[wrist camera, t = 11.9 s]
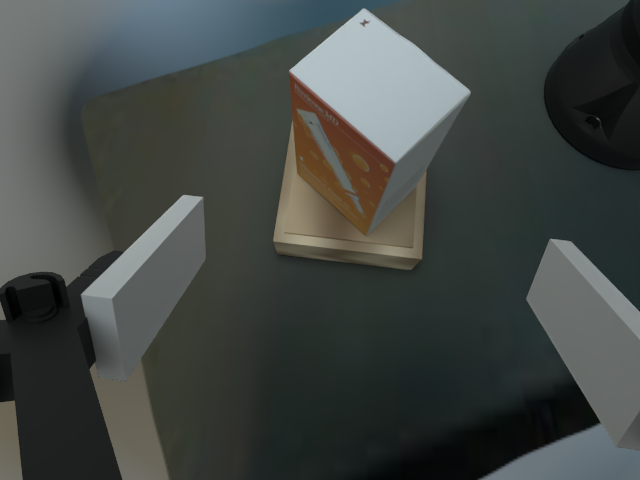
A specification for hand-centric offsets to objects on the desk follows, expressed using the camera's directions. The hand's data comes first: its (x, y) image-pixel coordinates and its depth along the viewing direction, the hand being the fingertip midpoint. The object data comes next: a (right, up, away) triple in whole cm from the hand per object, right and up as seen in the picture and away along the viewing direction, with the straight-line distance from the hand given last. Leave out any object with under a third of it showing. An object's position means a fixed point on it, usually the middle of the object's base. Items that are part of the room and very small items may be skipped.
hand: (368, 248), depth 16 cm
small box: (+1, +5, +19) cm, 20 cm away
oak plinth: (+1, +4, +23) cm, 23 cm away
